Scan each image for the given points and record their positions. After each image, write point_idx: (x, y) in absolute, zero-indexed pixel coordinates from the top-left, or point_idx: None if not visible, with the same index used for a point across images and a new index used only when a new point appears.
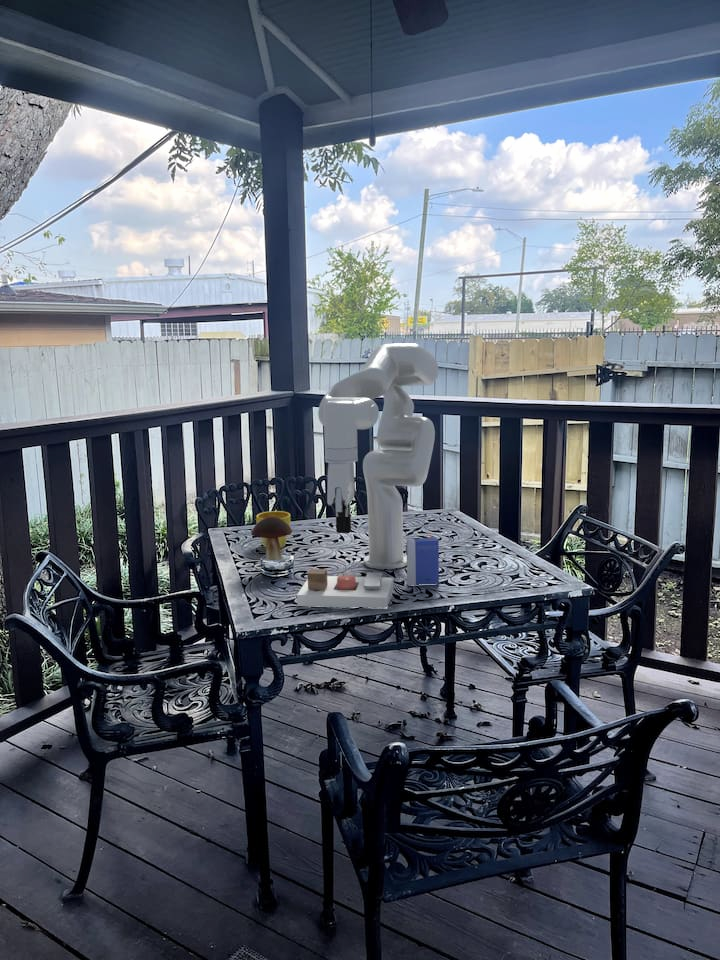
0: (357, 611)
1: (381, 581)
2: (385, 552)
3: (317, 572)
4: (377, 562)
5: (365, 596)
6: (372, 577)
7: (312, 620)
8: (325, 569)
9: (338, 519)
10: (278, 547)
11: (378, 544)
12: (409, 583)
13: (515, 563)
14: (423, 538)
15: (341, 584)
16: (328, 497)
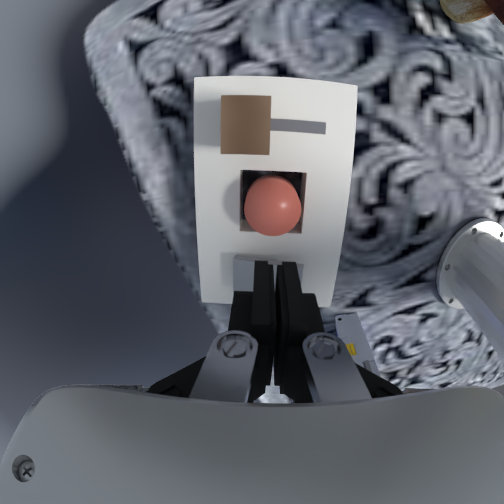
0: (191, 228)
1: (306, 285)
2: (465, 284)
3: (231, 128)
4: (460, 254)
5: (200, 258)
6: (274, 280)
7: (131, 140)
8: (265, 150)
9: (250, 323)
10: (481, 7)
11: (481, 280)
12: (336, 323)
13: None
14: None
15: (247, 195)
16: (6, 450)
